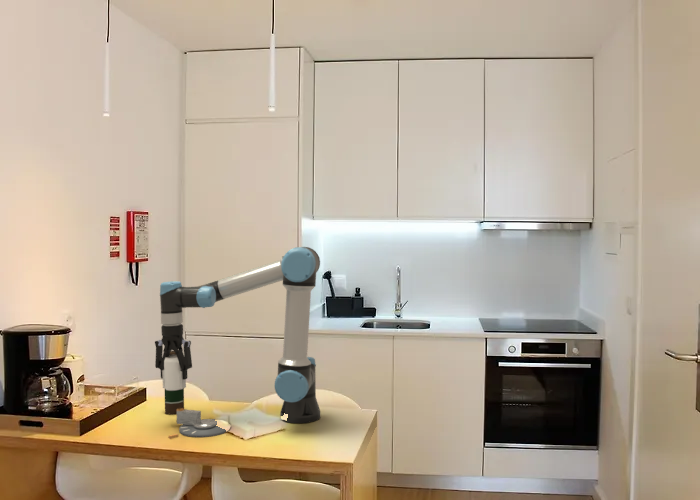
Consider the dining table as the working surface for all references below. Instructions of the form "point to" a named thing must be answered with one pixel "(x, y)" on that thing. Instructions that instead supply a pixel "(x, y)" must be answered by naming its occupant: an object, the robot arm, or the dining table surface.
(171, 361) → the can
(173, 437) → the small orange block
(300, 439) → the dining table surface
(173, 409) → the beer bottle
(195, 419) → the dial
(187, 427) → the dial plate
